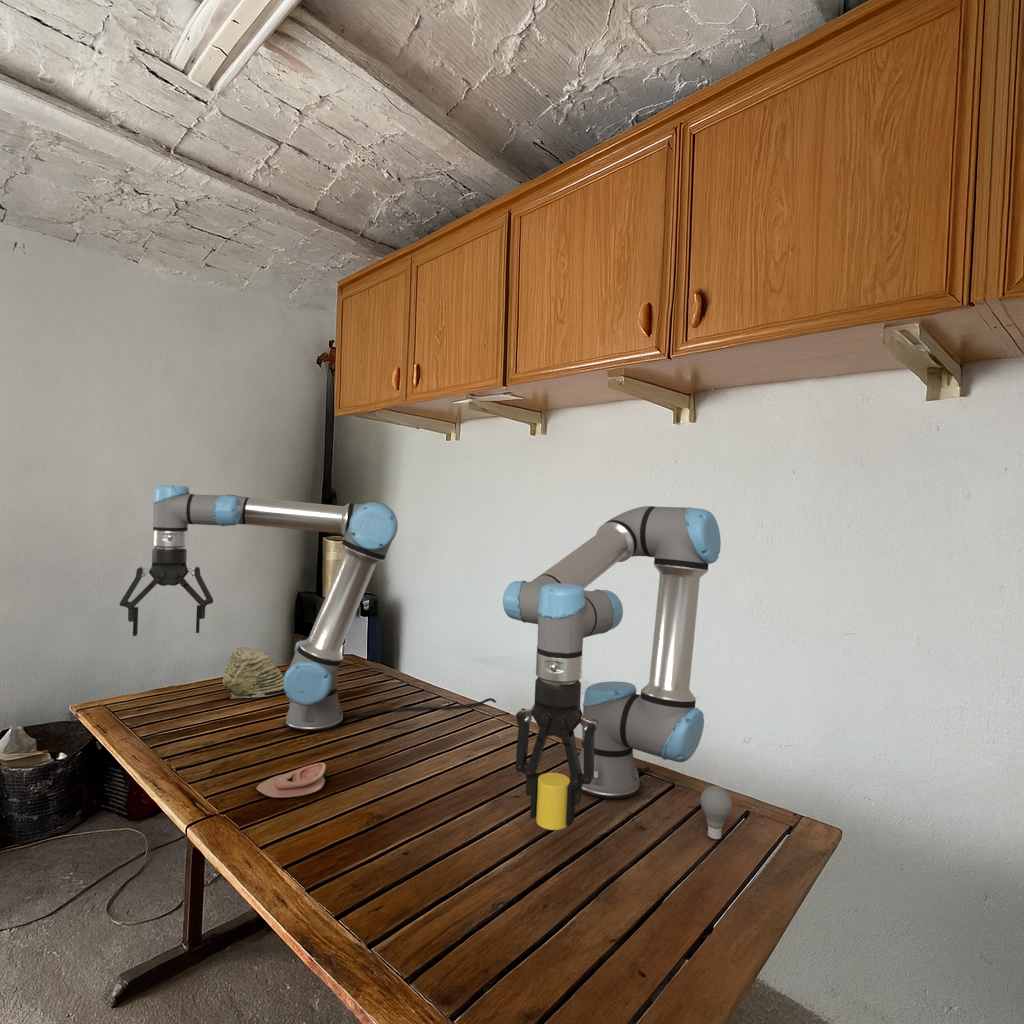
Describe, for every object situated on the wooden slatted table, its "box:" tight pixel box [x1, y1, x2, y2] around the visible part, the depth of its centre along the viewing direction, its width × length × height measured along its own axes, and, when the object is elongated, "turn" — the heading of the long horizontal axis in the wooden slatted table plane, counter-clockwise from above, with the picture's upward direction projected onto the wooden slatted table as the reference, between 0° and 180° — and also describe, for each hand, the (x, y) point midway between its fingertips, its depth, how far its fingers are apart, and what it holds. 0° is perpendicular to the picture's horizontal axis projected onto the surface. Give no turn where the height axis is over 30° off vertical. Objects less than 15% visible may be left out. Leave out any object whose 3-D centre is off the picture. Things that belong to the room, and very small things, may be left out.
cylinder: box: [535, 772, 571, 831], centre depth 104 cm, size 5×5×7 cm
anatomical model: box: [256, 762, 327, 799], centre depth 137 cm, size 13×4×12 cm
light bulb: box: [699, 785, 734, 840], centre depth 124 cm, size 6×6×10 cm
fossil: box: [222, 646, 285, 699], centre depth 198 cm, size 9×18×15 cm, turn 132°
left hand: (166, 633), depth 157 cm, fingers open, 13 cm apart
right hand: (552, 818), depth 105 cm, fingers closed on cylinder, 5 cm apart
